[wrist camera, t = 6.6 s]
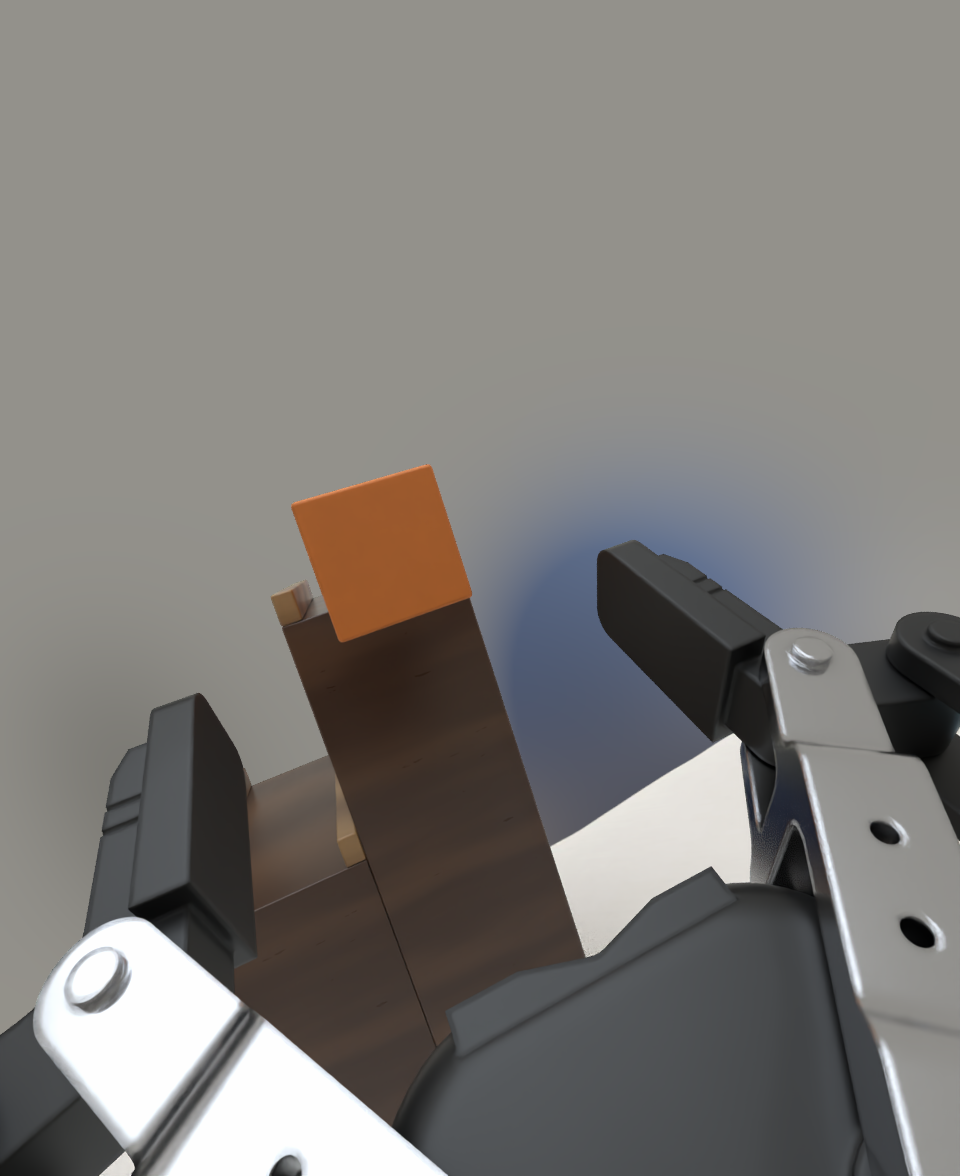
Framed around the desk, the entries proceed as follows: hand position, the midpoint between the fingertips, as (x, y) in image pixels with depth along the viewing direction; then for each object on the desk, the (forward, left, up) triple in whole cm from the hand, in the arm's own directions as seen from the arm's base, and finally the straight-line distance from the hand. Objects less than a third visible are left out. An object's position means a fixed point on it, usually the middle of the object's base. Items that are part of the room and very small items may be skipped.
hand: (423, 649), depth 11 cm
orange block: (-9, +9, +1) cm, 13 cm away
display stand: (-15, +10, -31) cm, 36 cm away
